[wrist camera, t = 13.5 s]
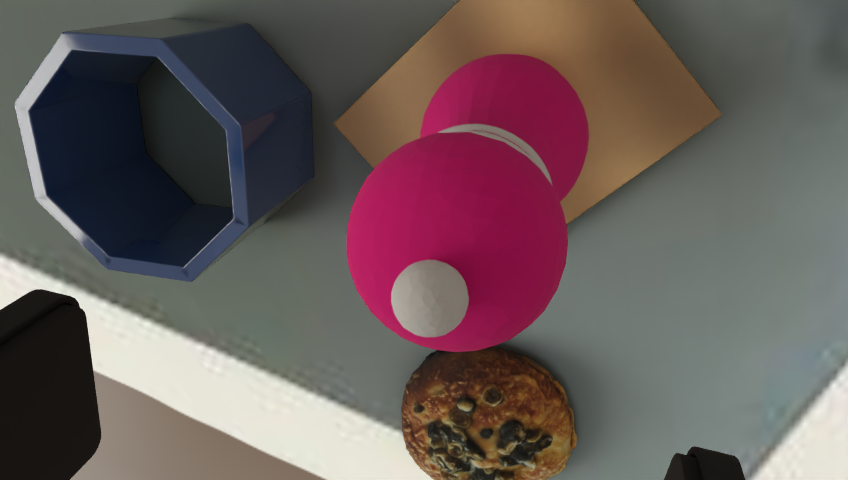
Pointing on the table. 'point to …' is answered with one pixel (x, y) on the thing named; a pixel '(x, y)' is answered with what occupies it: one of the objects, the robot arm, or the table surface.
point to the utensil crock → (125, 149)
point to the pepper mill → (472, 208)
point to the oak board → (574, 59)
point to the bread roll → (486, 417)
